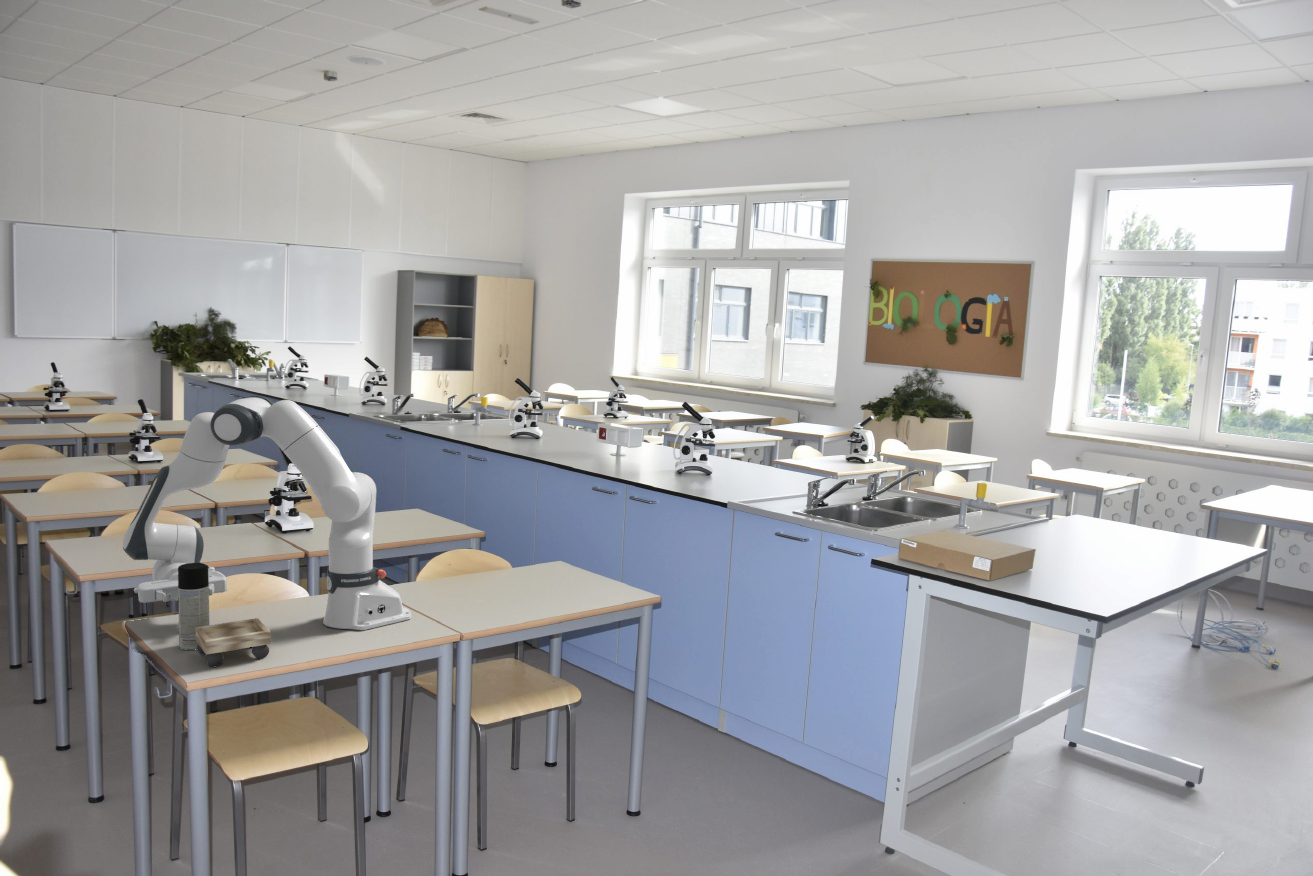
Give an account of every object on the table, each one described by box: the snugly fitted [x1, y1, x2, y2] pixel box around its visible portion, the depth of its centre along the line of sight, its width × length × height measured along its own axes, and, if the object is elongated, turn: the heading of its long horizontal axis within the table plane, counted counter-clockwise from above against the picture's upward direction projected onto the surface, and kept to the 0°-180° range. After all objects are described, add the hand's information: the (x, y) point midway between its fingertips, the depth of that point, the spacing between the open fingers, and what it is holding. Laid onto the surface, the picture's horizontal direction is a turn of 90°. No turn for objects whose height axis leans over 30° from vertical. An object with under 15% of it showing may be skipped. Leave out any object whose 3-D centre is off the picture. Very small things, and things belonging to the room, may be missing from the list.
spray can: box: [177, 562, 210, 651], centre depth 228 cm, size 7×7×20 cm
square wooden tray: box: [195, 617, 272, 668], centre depth 223 cm, size 14×12×6 cm
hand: (188, 595), depth 234 cm, fingers open, 8 cm apart
